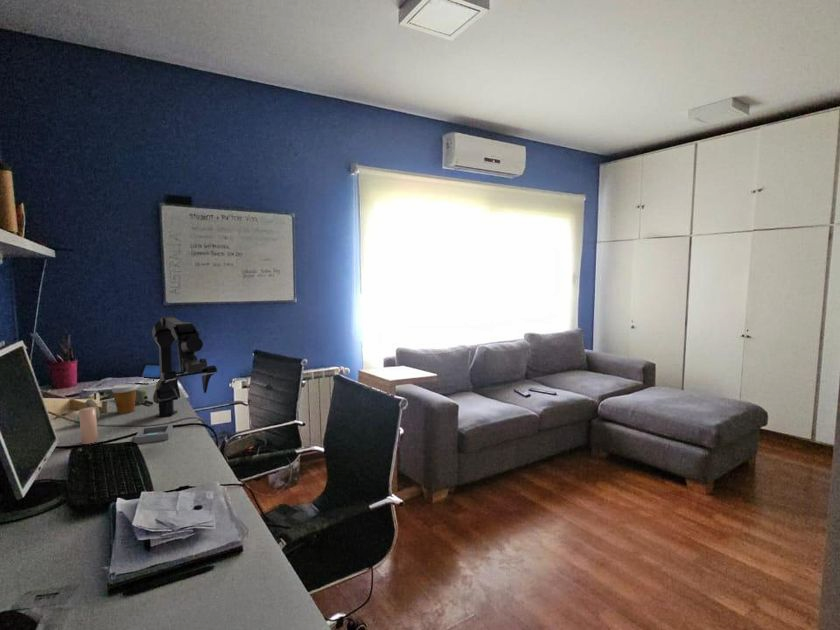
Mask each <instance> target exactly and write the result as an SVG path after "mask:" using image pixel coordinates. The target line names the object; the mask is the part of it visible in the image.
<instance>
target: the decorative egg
mask: <svg viewBox="0 0 840 630" xmlns="http://www.w3.org/2000/svg"><path fill="white" fill-rule="evenodd" d="M88 407H95V408H96V419H97V421H98V419H99V418H100V415H101V412H100V408H99V405H98V403H97V402H96V401H95V400H94V399H88V400H86V401H85V402H84V404H83V405H82V409H83V408H88Z"/></svg>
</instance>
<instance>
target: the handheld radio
mask: <svg viewBox="0 0 840 630" xmlns="http://www.w3.org/2000/svg"><path fill="white" fill-rule="evenodd" d="M148 393H149V391H148V390H147V389H143V388H140V387H137V389H136V400H135V401H137V402H136V403H138V402H140V403H139V404H141V403H147V404H148V405H151V406H153V405H154V401H150V400H149V394H148Z"/></svg>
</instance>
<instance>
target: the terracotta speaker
mask: <svg viewBox="0 0 840 630" xmlns="http://www.w3.org/2000/svg"><path fill="white" fill-rule="evenodd" d="M78 415H79V426H80V427H79V430H80V440H81V441H80V442H81V445H82V444H88V443H92V442H96V441H98V442H99V436H98V435H99V434H98V420H97V419H96V408H95V407H88V408H83V407H82V408H81V409H79V410H78ZM96 443H97V442H96Z"/></svg>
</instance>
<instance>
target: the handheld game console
mask: <svg viewBox="0 0 840 630" xmlns="http://www.w3.org/2000/svg"><path fill="white" fill-rule="evenodd" d="M137 377H144V378H149V379H153V381H154V379H160V363H143V364H142V366H141V368H140V371H139V373H138V375H137Z"/></svg>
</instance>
